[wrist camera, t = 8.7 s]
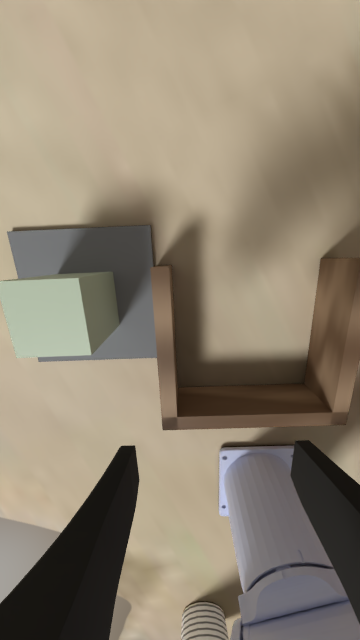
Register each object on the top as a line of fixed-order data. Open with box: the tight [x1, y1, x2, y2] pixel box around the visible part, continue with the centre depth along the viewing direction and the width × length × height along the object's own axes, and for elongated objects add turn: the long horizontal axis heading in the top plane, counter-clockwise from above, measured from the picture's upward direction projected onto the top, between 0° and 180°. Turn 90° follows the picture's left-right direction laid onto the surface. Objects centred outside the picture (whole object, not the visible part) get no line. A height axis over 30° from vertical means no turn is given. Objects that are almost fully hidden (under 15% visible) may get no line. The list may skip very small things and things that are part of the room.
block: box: [0, 272, 120, 358], centre depth 15 cm, size 4×4×6 cm
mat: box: [7, 225, 157, 362], centre depth 18 cm, size 11×11×1 cm
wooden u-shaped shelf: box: [150, 258, 360, 430], centre depth 17 cm, size 13×14×4 cm
